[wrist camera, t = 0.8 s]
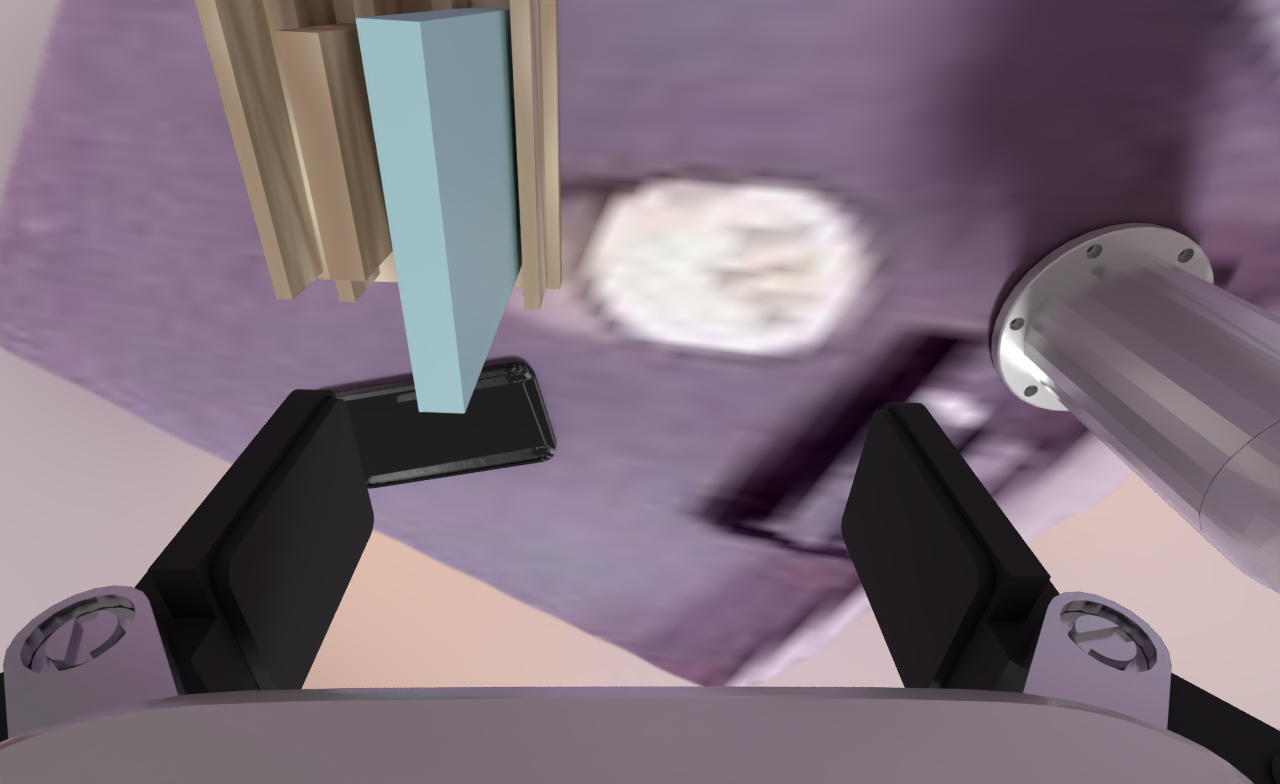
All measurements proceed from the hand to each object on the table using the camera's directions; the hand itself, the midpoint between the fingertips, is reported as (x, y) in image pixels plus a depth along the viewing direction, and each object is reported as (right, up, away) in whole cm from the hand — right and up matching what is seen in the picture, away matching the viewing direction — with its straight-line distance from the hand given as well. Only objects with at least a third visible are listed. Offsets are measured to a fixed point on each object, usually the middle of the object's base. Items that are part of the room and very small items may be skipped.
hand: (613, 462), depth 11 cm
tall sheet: (-7, +14, +21) cm, 26 cm away
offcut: (-13, +14, +21) cm, 28 cm away
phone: (-13, -1, +33) cm, 35 cm away
